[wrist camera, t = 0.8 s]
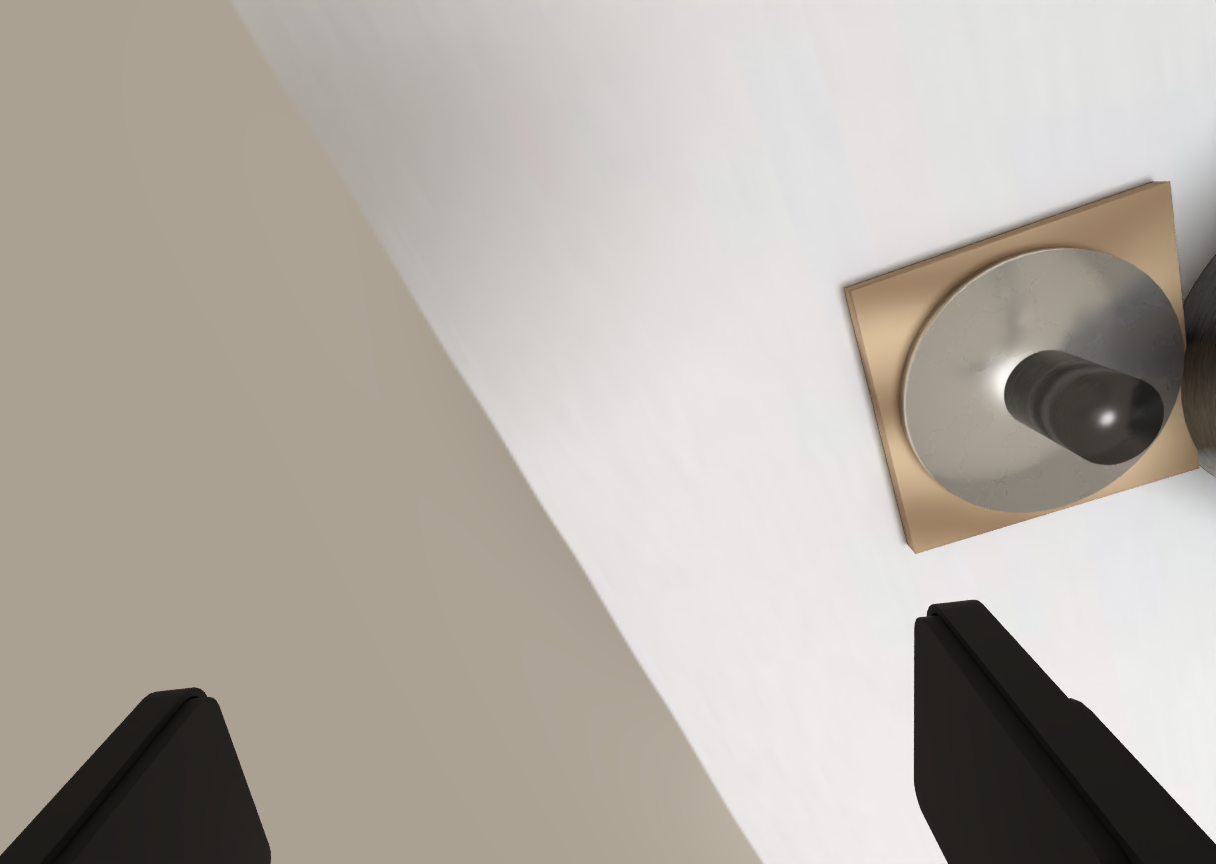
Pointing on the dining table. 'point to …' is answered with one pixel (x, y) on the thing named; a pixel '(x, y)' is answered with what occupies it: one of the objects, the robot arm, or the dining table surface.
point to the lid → (1041, 379)
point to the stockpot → (1201, 367)
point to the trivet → (908, 295)
